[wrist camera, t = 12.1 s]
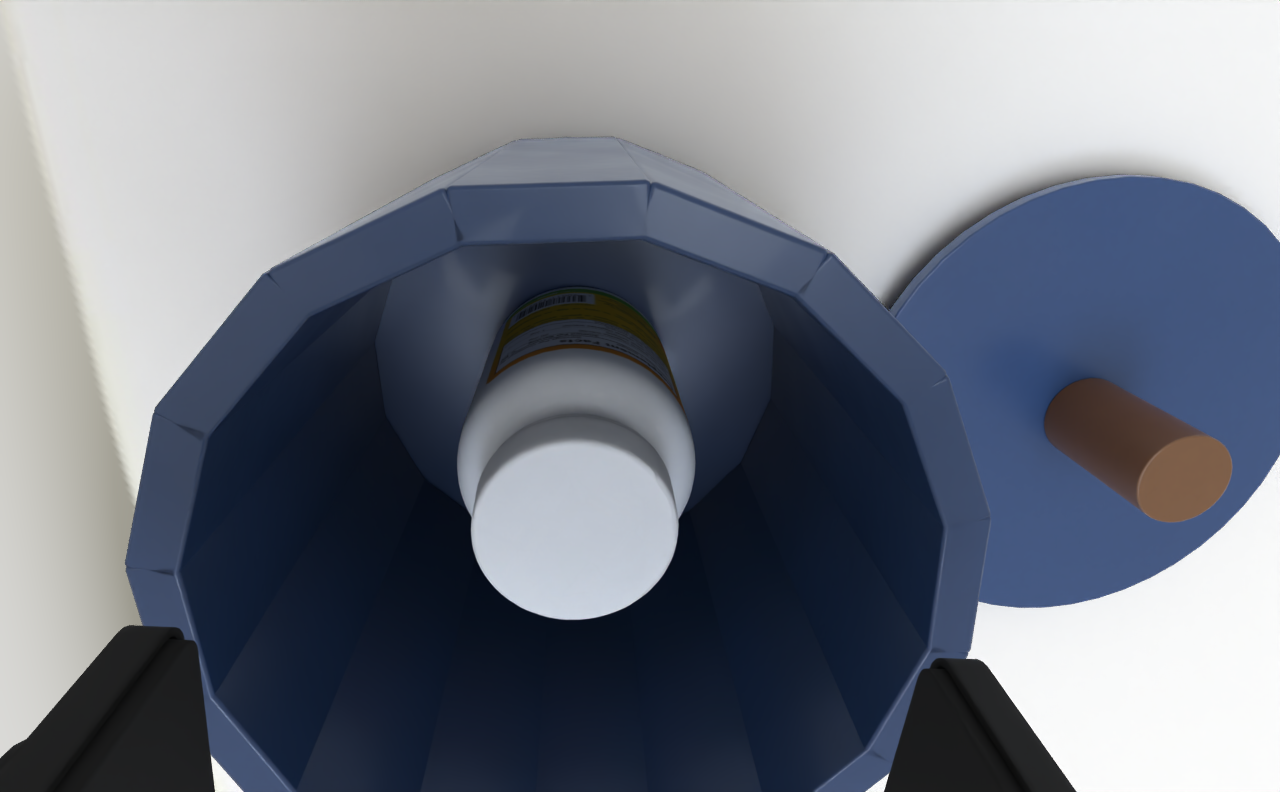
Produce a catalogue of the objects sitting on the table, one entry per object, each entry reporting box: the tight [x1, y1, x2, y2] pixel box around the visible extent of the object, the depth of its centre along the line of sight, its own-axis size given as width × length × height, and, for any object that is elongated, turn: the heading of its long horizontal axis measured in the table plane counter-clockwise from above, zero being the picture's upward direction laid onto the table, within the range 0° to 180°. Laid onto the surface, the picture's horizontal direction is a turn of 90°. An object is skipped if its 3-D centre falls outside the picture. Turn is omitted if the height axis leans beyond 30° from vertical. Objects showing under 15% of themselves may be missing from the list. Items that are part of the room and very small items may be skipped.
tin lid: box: [889, 175, 1280, 608], centre depth 23 cm, size 15×15×6 cm
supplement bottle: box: [457, 287, 696, 620], centre depth 19 cm, size 5×5×10 cm
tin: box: [125, 137, 991, 792], centre depth 18 cm, size 14×14×12 cm
